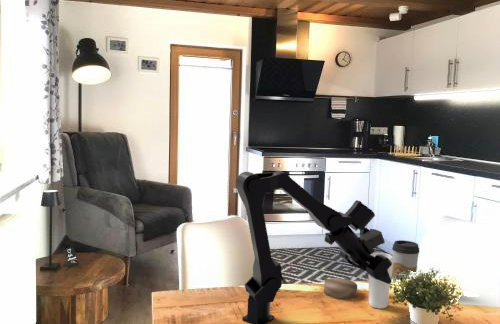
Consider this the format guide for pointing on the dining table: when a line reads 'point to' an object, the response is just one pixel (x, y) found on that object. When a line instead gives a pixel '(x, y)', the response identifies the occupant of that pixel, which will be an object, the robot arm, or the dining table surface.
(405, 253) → the coffee cup
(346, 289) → the walnut stand
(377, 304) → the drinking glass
